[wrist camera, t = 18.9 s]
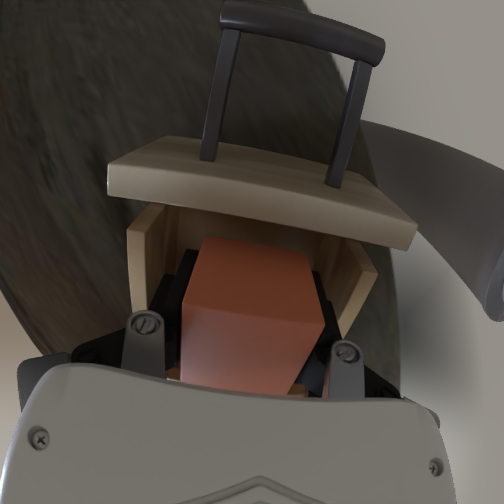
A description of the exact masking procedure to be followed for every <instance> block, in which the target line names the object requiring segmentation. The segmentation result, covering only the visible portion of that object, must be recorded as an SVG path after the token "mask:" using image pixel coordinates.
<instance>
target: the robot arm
mask: <svg viewBox="0 0 504 504" xmlns="http://www.w3.org/2000/svg"><path fill="white" fill-rule="evenodd" d="M198 255H199V250H194V249H188V248H187V249H186V251H185V253H184V255H183V258H182V260H181V263H180V265H179V267H178V270H177V272H176V275H173V274H168V273H165V274H164V275H163V277H162V279H161V281H160V283H159V286H158V288H157V290H156V292H155V294H154V297H153V299H152V301H151V303H150V306H149V308H148V310H140V311H136V312H134V313H133V314H131V315H130V317H129V318H128V320H127V324H126V328H123V329H121V330H118V331H116V332H113V333H110V334H108V335H105V336H102V337H99V338H97V339H94V340H91V341H89V342H86V343H83V344H81V345H79V346H77V347H76V348H75V349H74V350H73V352H72V353H71V354H67V353H66V352H62V353H57V354H52V355H47V356H42V357H36V358H31V359H27V360H24V361H23V362H22V363H21V364H20V365H19V367H18V369H17V380H18V391H19V399H20V406H21V416H20V418H19V421H18V423H17V426H16V429H15V431H14V434H13V437H12V440H11V443H10V446H9V449H8V452H7V455H6V459H5V463H4V467H3V471H2V475H1V480H0V504H457V502H456V495H455V488H454V483H453V478H452V474H451V469H450V464H449V460H448V456H447V453H446V449H445V446H444V443H443V439H442V436H441V434H440V431H439V428H440V420H439V417H438V416H437V414H436V413H434V412H433V411H431V410H429V409H427V408H425V407H423V406H421V405H419V404H417V403H416V402H414V401H412V400H410V399H408V398H406V397H403V398H401V396H400V393H399V391H398V390H397V389H396V388H395V387H394V386H393V385H392V384H390V383H389V382H387V381H386V380H385V379H383V378H382V377H380V376H379V375H378V374H376V373H375V372H374V371H372V370H371V369H370V368H368V367H367V366H365V365H364V358H363V352H362V350H361V349H360V347H359V346H358V345H357V344H355V343H354V342H352V341H349V340H344V339H342V336H341V332H340V329H339V325H338V322H337V319H336V315H335V312H334V308H333V305H332V303H331V301H330V300H327V297H326V294H325V291H324V287H323V284H322V281H321V277H320V274H319V272H318V271H313V270H311V272H312V275H313V279H314V283H315V286H316V290H317V294H318V298H319V302H320V306H321V310H322V314H323V318H324V322H325V327H324V329H323V331H322V333H321V334H320V336H319V338H318V340H317V342H316V344H315V346H314V348H313V350H312V351H311V353H310V355H309V357H308V359H307V360H306V362H305V364H304V366H303V368H302V369H301V371H300V373H299V375H298V376H297V378H296V380H295V384H302V385H304V386H305V387H306V389H305V393H304V397H293V396H278V395H266V394H255V393H246V392H238V391H230V390H223V389H216V388H210V387H204V386H198V385H192V384H187V383H182V382H177V381H172V380H167V370H169V369H171V368H174V367H177V366H178V362H179V361H181V321H182V303H183V300H184V296H185V293H186V290H187V287H188V284H189V281H190V278H191V275H192V272H193V269H194V266H195V263H196V260H197V257H198ZM502 298H503V301H504V284H503V290H502Z"/></svg>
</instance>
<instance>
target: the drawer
mask: <svg viewBox="0 0 504 504" xmlns="http://www.w3.org/2000/svg"><path fill="white" fill-rule="evenodd" d="M219 26H220V29H221V30H224V31H223V35H222V39H221V44H220V48H219V53H218V57H217V62H216V66H215V71H214V76H213V81H212V86H211V91H210V96H209V102H208V107H207V113H206V119H205V125H204V131H203V137H202V140H201V139H194V138H186V137H177V136H165V137H163V138H161V139H158V140H156V141H154V142H152V143H149V144H147V145H145V146H143V147H141V148H139V149H137V150H134V151H132V152H130V153H128V154H126V155H124V156H122V157H120V158H118V159H116V160H115V161H113V162H111V163H109V164H108V195H110V196H117V197H124V198H131V199H138V200H144V201H151V203H150V204H149V205H148V206H147V207H146V208H145V209H144V210H143V211H142V213H141V214H140V215H139V216H138V217H137V218H136V219H135V220H134V222H133V223H132V224H131V225H130V226H129V227H128V228H127V250H128V268H129V281H130V293H131V303H132V312H133V313H134V312H136V311H140V310H148V308H149V306H150V303H151V301H152V299H153V297H154V294H155V292H156V290H157V288H158V286H159V283H160V281H161V279H162V277H163V275H164V274H165V273H168V274H173V275H176V272H177V270H178V267H179V265H180V263H181V260H182V258H183V255H184V253H185V251H186V249H187V248H188V249H194V250H199V252H200V249H201V246H202V243H203V240H204V237H205V235H211V236H217V237H222V238H228V239H233V240H239V241H244V242H250V243H256V244H261V245H267V246H272V247H277V248H283V249H288V250H294V251H299V252H305V253H306V254H307V257H308V261H309V264H310V268H311V270H313V271H318V272H319V274H320V277H321V281H322V284H323V287H324V291H325V294H326V297H327V300H330V301H331V303H332V305H333V308H334V312H335V315H336V319H337V322H338V325H339V329H340V332H341V336H342V339H344V337H345V335H346V334H347V332H348V330H349V329H350V327H351V325H352V323H353V322H354V320H355V318H356V316H357V314H358V313H359V311H360V309H361V307H362V305H363V303H364V301H365V300H366V298H367V296H368V294H369V292H370V290H371V288H372V286H373V284H374V282H375V280H376V278H377V276H378V272H377V271H376V269H375V267H374V265H373V264H372V262H371V260H370V259H369V257H368V255H367V254H366V252H365V251H364V249H363V247H362V246H361V244H360V242H359V241H358V240H360V241H364V242H369V243H373V244H377V245H382V246H386V247H390V248H395V249H399V250H403V251H407V250H408V248H409V246H410V244H411V242H412V240H413V237H414V235H415V233H416V231H417V228H418V224H417V223H415V222H414V221H413V220H412V219H411V218H410V217H409V216H408V215H407V214H406V213H405V212H404V211H403V210H402V209H400V208H399V207H398V206H397V205H396V204H395V203H394V202H393V201H392V200H390V199H389V198H388V197H387V196H386V195H385V194H383V193H382V192H381V191H380V190H379V189H378V188H376V187H375V186H374V185H373V184H372V183H370V182H369V181H368V180H367V179H366V178H364V177H363V176H362V175H361V174H357V173H354V172H351V171H347V170H346V168H347V164H348V161H349V158H350V154H351V151H352V147H353V144H354V140H355V136H356V133H357V129H358V125H359V121H360V117H361V114H362V110H363V105H364V101H365V97H366V93H367V89H368V85H369V80H370V76H371V71H372V67H376V66H377V65H378V64H379V63H380V62H381V60H382V58H383V55H384V53H385V41H384V39H382V38H380V37H378V36H376V35H373V34H371V33H369V32H366V31H364V30H361V29H358V28H356V27H353V26H350V25H347V24H345V23H342V22H339V21H336V20H333V19H329V18H326V17H323V16H319V15H316V14H312V13H308V12H305V11H301V10H296V9H292V8H287V7H283V6H278V5H272V4H267V3H261V2H254V1H247V0H225V1H224V3H223V5H222V8H221V13H220V19H219ZM241 32H244V33H251V34H257V35H263V36H268V37H274V38H278V39H283V40H288V41H292V42H296V43H300V44H304V45H308V46H312V47H315V48H319V49H322V50H326V51H329V52H332V53H335V54H338V55H341V56H344V57H347V58H350V59H353V60H355V61H356V62H355V63H354V67H353V71H352V76H351V80H350V84H349V89H348V93H347V97H346V101H345V105H344V109H343V113H342V117H341V121H340V125H339V129H338V133H337V136H336V140H335V144H334V148H333V151H332V155H331V158H330V162H329V165H325V164H322V163H318V162H314V161H310V160H306V159H302V158H297V157H293V156H289V155H284V154H280V153H275V152H270V151H266V150H261V149H255V148H250V147H245V146H239V145H233V144H227V143H221V142H219V140H220V134H221V128H222V123H223V117H224V112H225V107H226V102H227V97H228V92H229V87H230V82H231V77H232V72H233V68H234V63H235V59H236V54H237V50H238V45H239V41H240V37H241ZM180 365H181V361H179V362H178V366H177V367H175V368H180ZM293 384H295V382H294V383H293Z"/></svg>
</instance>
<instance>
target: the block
mask: <svg viewBox="0 0 504 504" xmlns="http://www.w3.org/2000/svg"><path fill="white" fill-rule="evenodd" d="M324 327H325V322H324V318H323V314H322V310H321V306H320V302H319V298H318V294H317V290H316V286H315V283H314V279H313V275H312V272H311V268H310V264H309V261H308V257H307V254H306V253H305V252H299V251H294V250H288V249H283V248H277V247H272V246H267V245H261V244H256V243H250V242H244V241H239V240H233V239H228V238H222V237H217V236H211V235H205V237H204V240H203V243H202V246H201V249H200V252H199V255H198V257H197V260H196V263H195V266H194V269H193V272H192V275H191V278H190V281H189V284H188V287H187V290H186V293H185V296H184V300H183V303H182V321H181V365H180V380H181V381H183V382H188V383H193V384H199V385H204V386H210V387H217V388H223V389H230V390H238V391H246V392H255V393H265V394H277V395H287V393H288V392H289V390H290V388H291V387H292V385H293V383H294V382H295V380H296V378H297V376H298V375H299V373H300V371H301V369H302V368H303V366H304V364H305V362H306V360H307V359H308V357H309V355H310V353H311V351H312V350H313V348H314V346H315V344H316V342H317V340H318V338H319V336H320V334H321V333H322V331H323V329H324Z"/></svg>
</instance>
